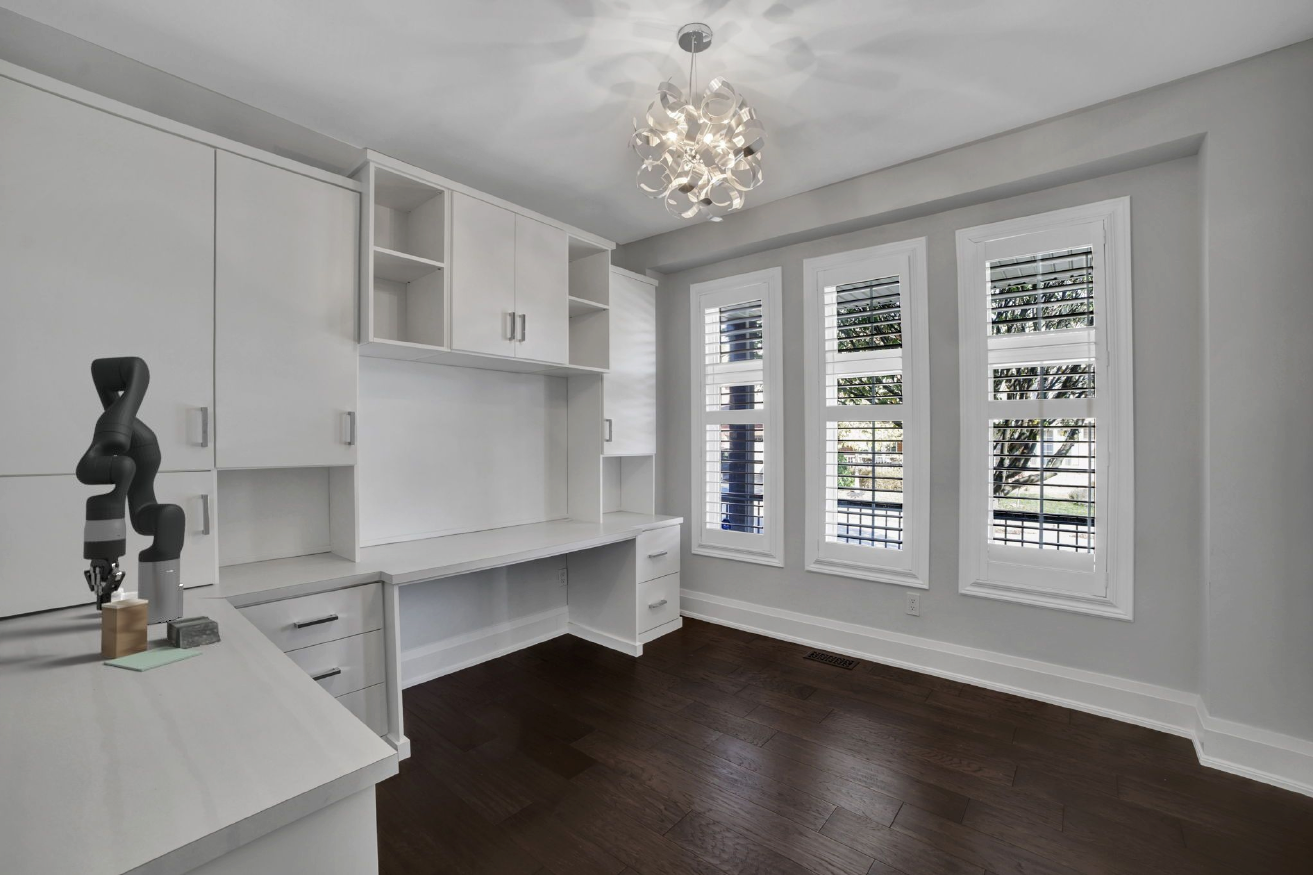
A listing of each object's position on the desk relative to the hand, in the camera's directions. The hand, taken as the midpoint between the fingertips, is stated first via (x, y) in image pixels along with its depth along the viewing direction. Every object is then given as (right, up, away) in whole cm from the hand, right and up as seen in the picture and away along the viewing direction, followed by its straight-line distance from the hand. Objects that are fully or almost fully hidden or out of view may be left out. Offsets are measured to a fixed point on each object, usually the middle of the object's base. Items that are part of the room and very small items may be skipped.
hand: (103, 609), depth 142 cm
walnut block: (+8, -9, -3) cm, 13 cm away
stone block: (+17, -10, +7) cm, 21 cm away
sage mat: (+19, -9, -7) cm, 22 cm away
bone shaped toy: (-24, -12, +37) cm, 45 cm away
